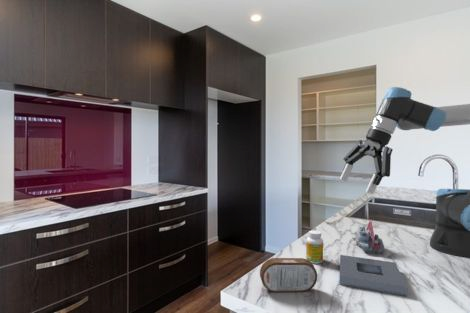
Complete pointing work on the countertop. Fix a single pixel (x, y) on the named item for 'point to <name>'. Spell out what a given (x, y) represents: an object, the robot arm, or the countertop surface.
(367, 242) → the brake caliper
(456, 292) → the countertop surface
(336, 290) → the countertop surface
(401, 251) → the countertop surface
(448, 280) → the countertop surface
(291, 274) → the tin
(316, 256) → the supplement bottle
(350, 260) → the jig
